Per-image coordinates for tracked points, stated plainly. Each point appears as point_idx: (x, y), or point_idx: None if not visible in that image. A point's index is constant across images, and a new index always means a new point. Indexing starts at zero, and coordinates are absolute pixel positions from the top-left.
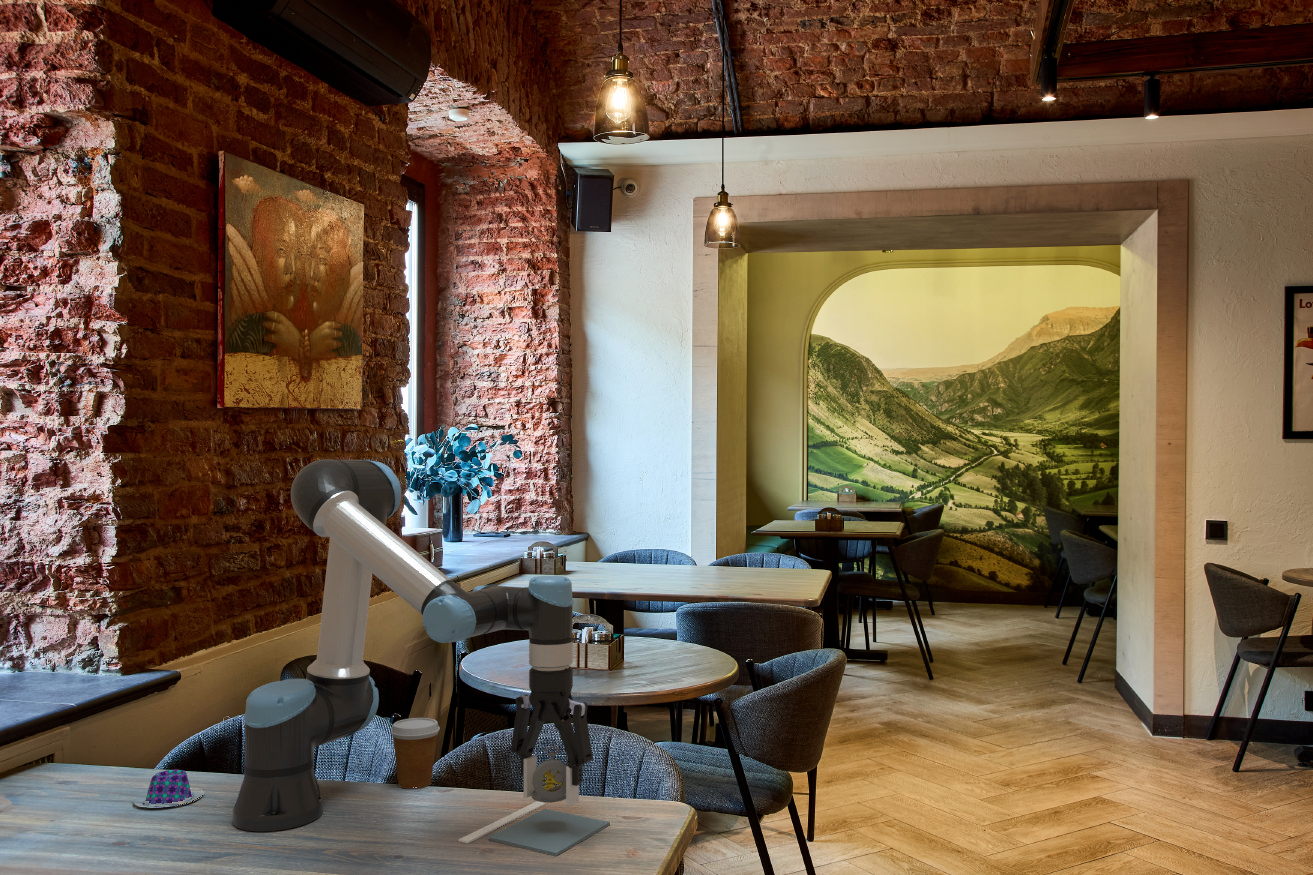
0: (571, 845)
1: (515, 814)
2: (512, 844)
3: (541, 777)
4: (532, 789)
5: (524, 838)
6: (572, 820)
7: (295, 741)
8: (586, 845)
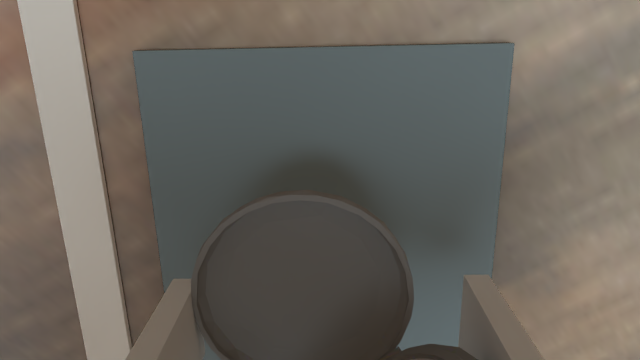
0: None
1: (72, 172)
2: None
3: None
4: (193, 330)
5: None
6: (346, 116)
7: None
8: (525, 275)
